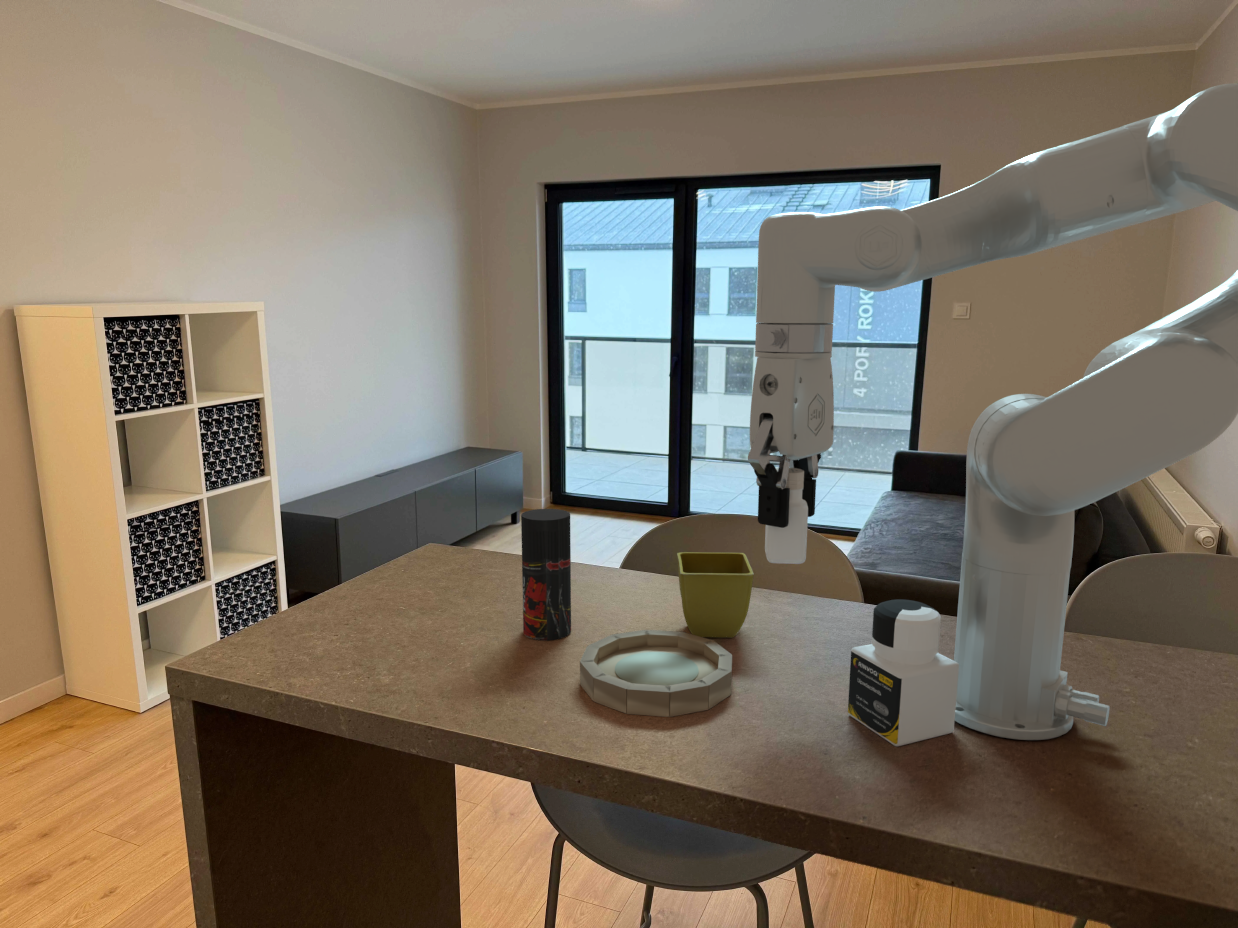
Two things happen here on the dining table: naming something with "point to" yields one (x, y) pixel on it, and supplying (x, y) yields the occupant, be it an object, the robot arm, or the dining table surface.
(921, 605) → the medicine bottle
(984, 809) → the dining table surface
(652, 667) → the tray
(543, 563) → the deodorant
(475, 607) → the dining table surface
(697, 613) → the flower pot
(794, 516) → the pepper shaker
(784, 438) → the robot arm
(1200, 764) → the dining table surface
